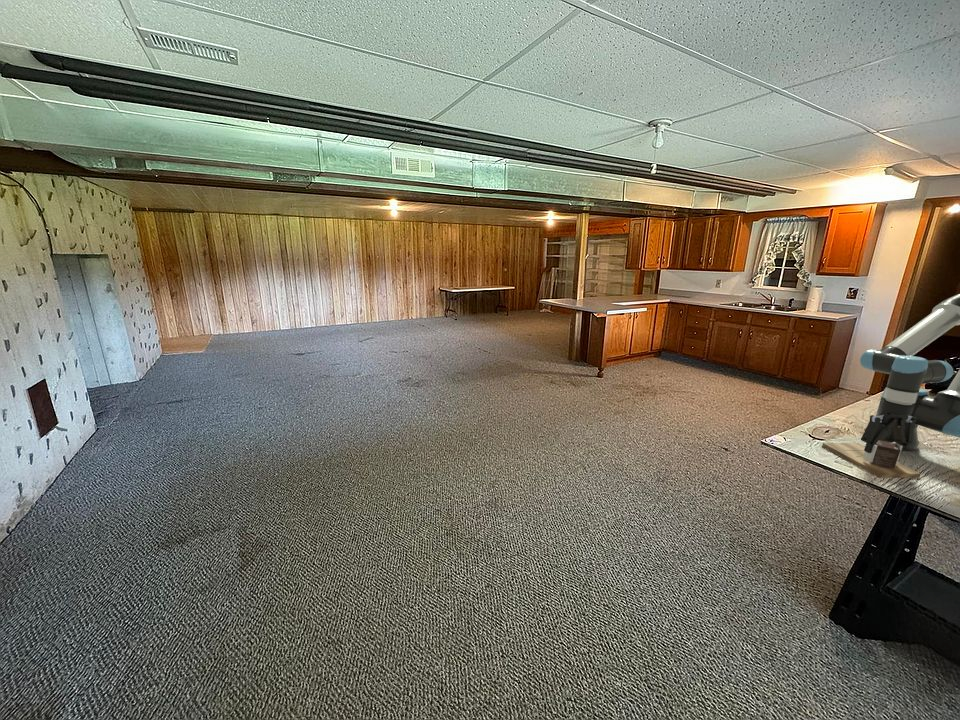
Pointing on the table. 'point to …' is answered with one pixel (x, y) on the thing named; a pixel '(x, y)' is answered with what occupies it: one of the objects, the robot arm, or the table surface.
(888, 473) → the oak board
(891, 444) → the box
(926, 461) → the table surface
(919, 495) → the table surface
